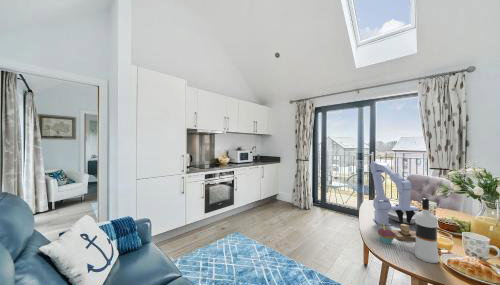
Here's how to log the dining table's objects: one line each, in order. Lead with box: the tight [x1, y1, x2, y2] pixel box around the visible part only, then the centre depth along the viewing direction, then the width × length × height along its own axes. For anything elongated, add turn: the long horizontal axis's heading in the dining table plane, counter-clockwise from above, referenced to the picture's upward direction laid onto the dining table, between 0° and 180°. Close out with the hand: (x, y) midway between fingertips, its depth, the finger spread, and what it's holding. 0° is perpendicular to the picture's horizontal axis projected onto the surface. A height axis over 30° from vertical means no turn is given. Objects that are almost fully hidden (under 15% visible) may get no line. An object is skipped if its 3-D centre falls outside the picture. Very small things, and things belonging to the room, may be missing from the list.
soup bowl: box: [388, 210, 418, 225], centre depth 142 cm, size 24×24×7 cm
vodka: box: [413, 197, 440, 264], centre depth 97 cm, size 9×9×30 cm
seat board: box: [390, 229, 416, 242], centre depth 118 cm, size 9×18×2 cm, turn 81°
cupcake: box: [377, 222, 396, 245], centre depth 113 cm, size 9×8×12 cm
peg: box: [400, 223, 411, 236], centre depth 119 cm, size 4×4×7 cm
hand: (404, 222), depth 119 cm, fingers open, 3 cm apart
